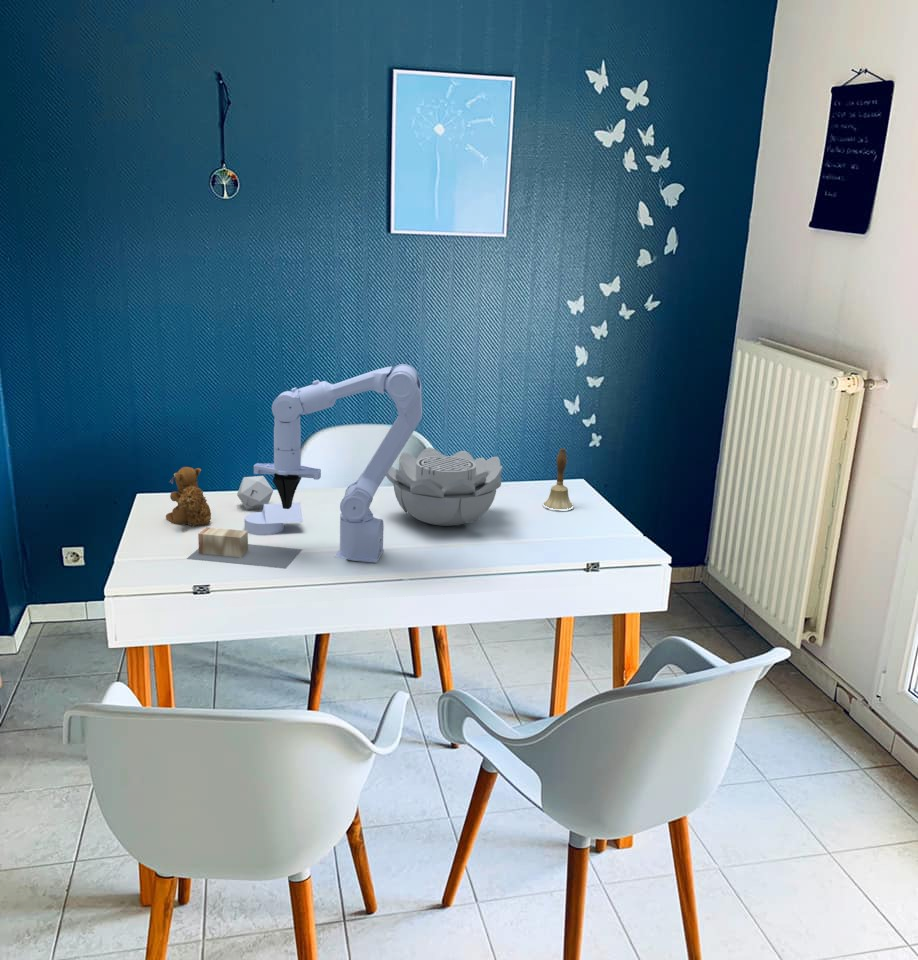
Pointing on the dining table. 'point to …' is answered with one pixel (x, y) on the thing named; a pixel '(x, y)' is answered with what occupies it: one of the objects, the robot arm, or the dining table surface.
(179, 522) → the brown furry figure
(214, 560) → the rubber mat
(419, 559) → the dining table surface
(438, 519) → the decorative bowl
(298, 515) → the wedge on round base
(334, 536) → the dining table surface
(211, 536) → the maple block
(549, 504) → the hand bell
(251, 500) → the die
